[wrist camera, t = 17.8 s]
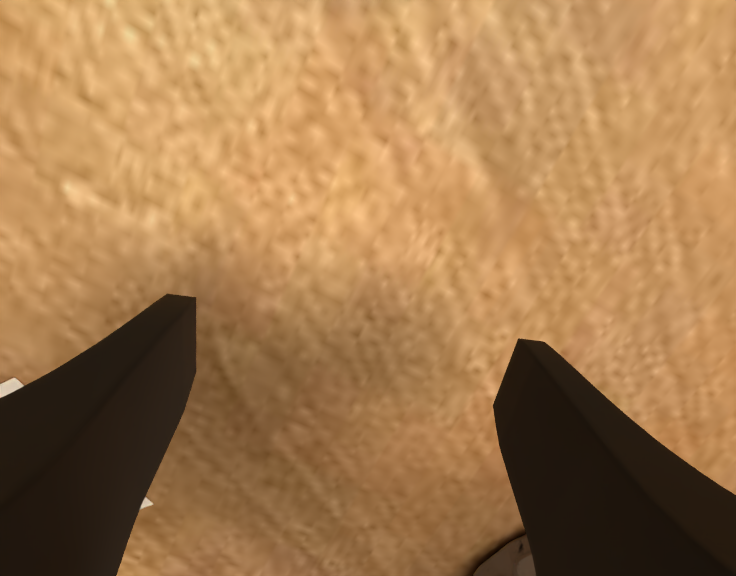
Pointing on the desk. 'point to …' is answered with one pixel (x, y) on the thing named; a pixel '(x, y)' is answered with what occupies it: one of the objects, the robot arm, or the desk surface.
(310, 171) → the desk surface
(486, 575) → the decorative lamp
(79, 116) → the desk surface
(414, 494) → the desk surface
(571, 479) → the robot arm
